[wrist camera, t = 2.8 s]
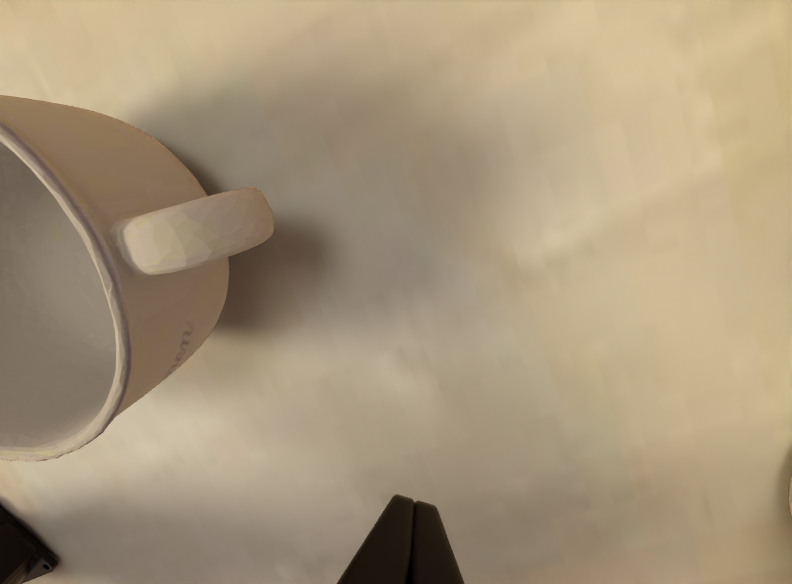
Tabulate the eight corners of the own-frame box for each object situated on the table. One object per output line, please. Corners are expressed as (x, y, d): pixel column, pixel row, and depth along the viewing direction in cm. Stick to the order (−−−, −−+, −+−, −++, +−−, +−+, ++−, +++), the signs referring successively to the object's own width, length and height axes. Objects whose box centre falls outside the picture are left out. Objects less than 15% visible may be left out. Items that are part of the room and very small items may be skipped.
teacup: (79, 340, 21) (-124, 455, 14) (-10, 107, 17) (-360, 93, 10) (346, 342, 19) (274, 480, 12) (313, 76, 15) (174, 29, 8)
